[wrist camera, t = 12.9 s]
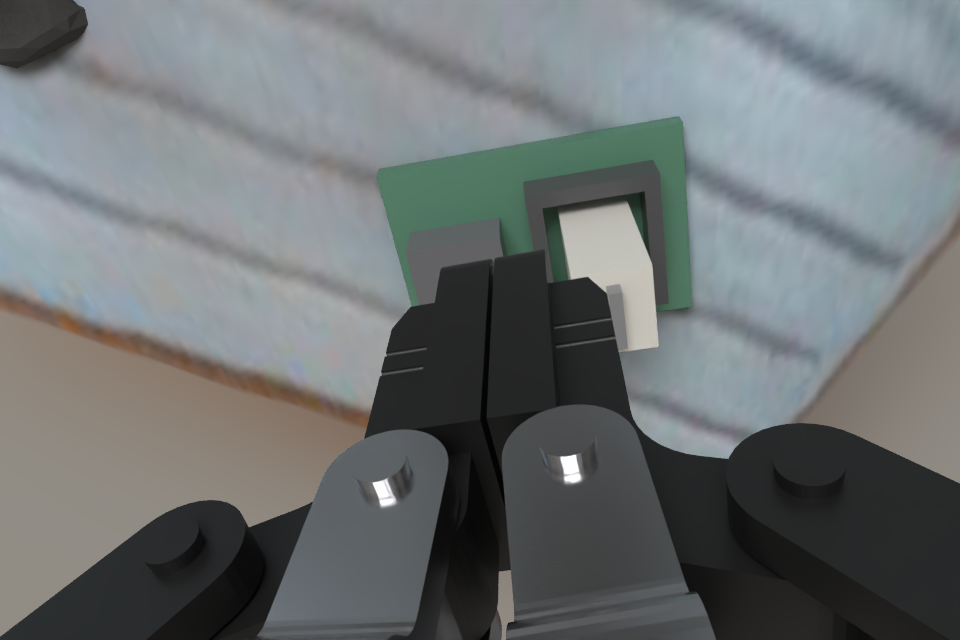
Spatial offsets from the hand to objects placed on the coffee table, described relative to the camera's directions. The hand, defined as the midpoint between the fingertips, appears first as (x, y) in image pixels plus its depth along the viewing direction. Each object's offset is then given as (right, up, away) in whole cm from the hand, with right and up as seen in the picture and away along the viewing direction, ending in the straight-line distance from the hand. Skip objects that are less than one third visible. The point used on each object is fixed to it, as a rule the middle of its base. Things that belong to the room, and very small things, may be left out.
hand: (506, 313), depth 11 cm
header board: (+3, +5, +32) cm, 32 cm away
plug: (+6, +4, +30) cm, 31 cm away
